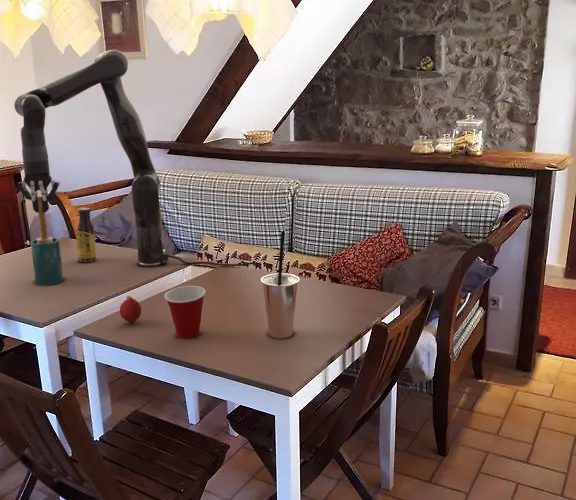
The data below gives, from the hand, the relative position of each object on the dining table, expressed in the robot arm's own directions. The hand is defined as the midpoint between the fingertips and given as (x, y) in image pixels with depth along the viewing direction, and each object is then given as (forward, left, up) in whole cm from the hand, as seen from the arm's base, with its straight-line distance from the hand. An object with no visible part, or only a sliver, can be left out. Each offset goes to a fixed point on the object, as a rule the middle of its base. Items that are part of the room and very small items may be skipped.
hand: (41, 211), depth 209 cm
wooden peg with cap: (0, 0, -15) cm, 15 cm away
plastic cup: (-49, +51, -24) cm, 75 cm away
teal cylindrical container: (0, 0, -24) cm, 24 cm away
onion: (-33, +41, -24) cm, 58 cm away
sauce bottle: (-8, -23, -24) cm, 34 cm away
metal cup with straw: (-74, +54, -24) cm, 95 cm away
